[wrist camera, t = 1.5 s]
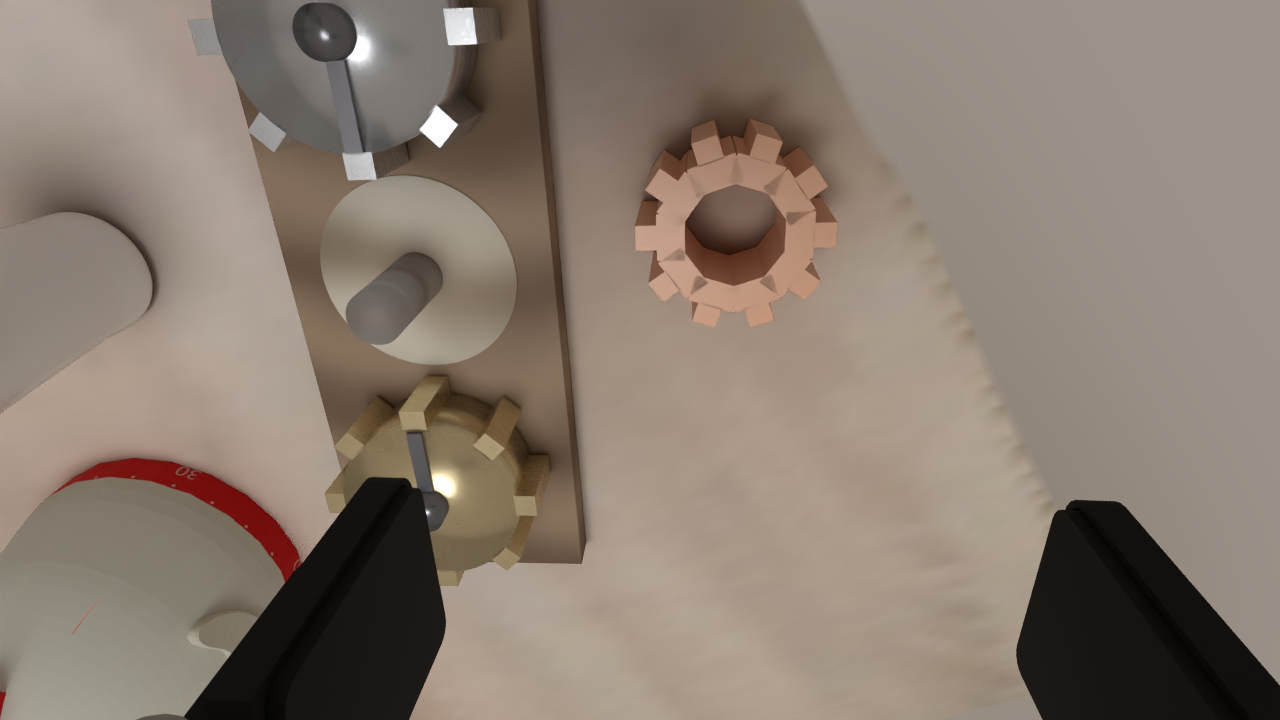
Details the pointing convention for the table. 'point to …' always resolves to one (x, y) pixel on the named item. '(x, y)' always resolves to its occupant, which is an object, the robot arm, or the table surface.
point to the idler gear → (746, 273)
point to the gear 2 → (451, 472)
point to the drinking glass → (63, 295)
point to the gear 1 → (352, 72)
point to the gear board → (444, 271)
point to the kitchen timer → (132, 592)
